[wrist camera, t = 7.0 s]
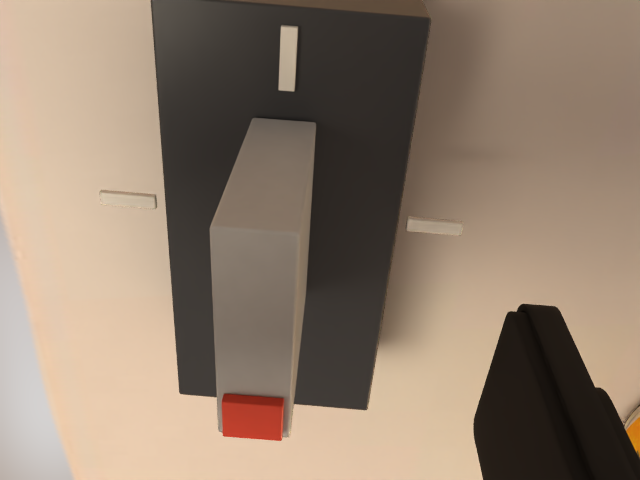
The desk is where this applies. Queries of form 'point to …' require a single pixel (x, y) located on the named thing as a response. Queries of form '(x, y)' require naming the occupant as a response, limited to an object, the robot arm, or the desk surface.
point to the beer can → (634, 429)
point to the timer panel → (328, 174)
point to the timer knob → (262, 278)
